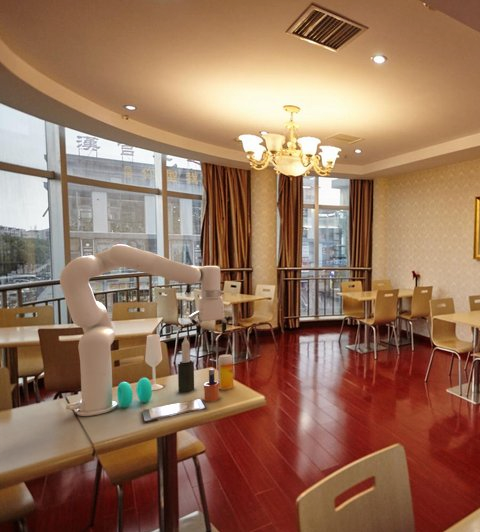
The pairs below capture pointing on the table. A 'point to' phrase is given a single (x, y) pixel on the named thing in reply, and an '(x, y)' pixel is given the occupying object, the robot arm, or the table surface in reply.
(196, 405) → the tablet
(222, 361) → the beer glass
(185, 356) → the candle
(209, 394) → the pen cup
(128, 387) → the pair of turquoise ovals
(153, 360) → the champagne flute
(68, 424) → the table surface
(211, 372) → the marker
